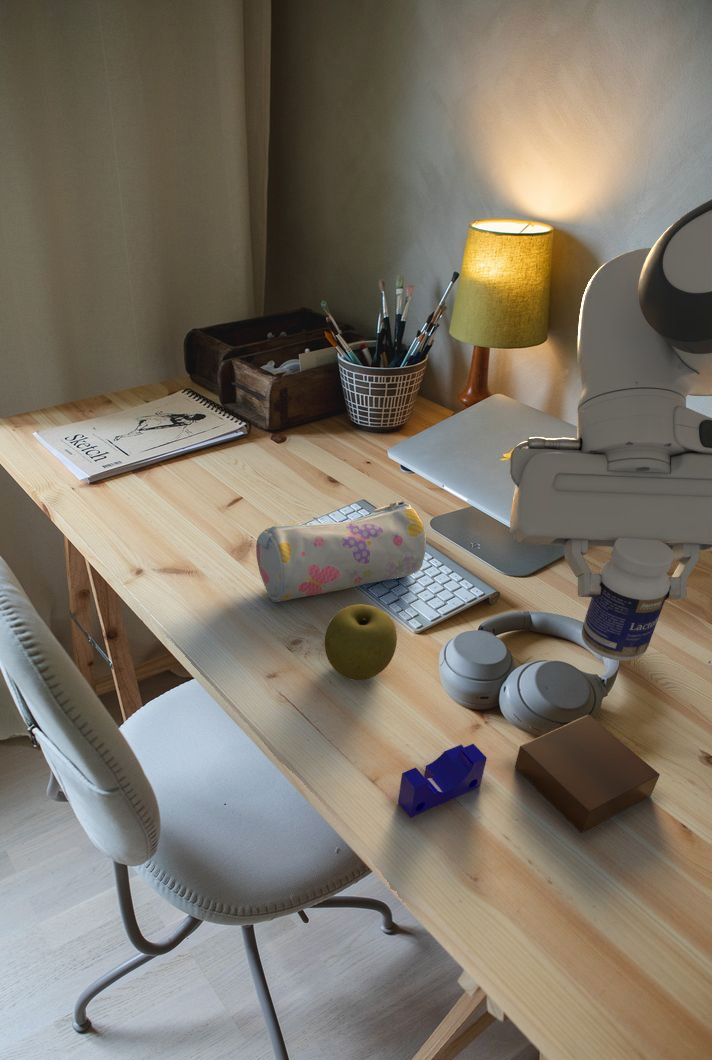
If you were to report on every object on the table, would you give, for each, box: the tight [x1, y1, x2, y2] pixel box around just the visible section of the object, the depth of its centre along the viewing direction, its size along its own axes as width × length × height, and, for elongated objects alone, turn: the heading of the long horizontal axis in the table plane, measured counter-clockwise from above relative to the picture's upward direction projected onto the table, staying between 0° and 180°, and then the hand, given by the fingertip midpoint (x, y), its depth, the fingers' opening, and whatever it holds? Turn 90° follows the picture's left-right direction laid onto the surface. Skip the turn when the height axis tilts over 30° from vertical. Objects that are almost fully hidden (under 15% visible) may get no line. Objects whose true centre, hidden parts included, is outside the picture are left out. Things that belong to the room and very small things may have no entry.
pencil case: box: [255, 500, 427, 603], centre depth 101 cm, size 21×9×10 cm, turn 113°
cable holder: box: [397, 743, 488, 818], centre depth 76 cm, size 8×4×4 cm, turn 118°
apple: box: [323, 603, 398, 681], centre depth 89 cm, size 8×8×7 cm
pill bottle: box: [581, 538, 674, 662], centre depth 70 cm, size 6×6×10 cm
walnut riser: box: [514, 714, 661, 833], centre depth 78 cm, size 9×9×3 cm
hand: (631, 598), depth 70 cm, fingers closed on pill bottle, 6 cm apart
